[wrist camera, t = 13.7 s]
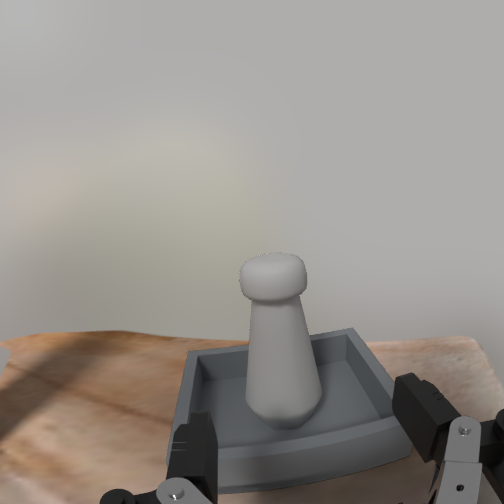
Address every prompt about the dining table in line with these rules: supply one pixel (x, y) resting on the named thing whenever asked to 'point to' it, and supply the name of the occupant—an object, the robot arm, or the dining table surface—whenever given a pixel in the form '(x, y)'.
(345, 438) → the tray
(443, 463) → the robot arm
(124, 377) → the dining table surface
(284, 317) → the salt shaker
